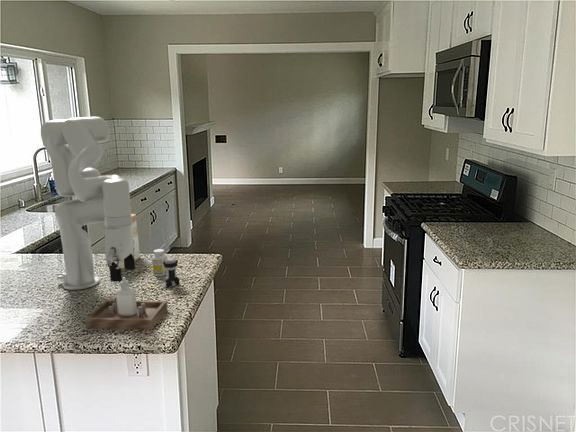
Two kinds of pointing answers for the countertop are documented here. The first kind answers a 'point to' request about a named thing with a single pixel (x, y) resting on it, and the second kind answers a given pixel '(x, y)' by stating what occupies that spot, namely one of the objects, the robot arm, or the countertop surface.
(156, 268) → the supplement bottle
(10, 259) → the countertop surface
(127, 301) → the eye dropper bottle
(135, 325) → the pin tray
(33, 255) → the countertop surface
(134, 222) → the coffeecake box
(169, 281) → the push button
